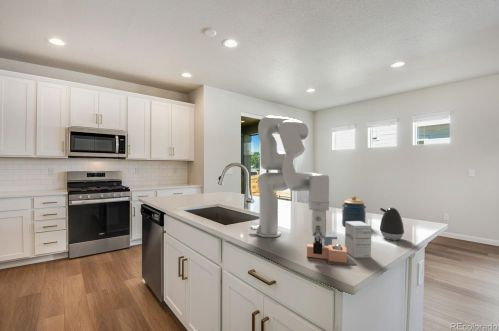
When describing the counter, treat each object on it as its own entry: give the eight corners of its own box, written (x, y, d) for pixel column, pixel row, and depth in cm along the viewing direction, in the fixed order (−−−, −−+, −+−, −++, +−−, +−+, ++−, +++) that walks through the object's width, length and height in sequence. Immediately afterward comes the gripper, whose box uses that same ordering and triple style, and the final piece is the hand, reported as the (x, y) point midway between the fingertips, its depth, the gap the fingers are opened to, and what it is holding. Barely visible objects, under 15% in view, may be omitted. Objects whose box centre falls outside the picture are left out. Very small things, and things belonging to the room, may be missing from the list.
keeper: (323, 250, 103) (323, 236, 102) (319, 246, 109) (320, 232, 109) (336, 251, 102) (337, 236, 102) (332, 246, 108) (332, 232, 108)
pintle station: (328, 264, 89) (328, 249, 89) (321, 254, 99) (321, 240, 99) (356, 265, 88) (356, 250, 88) (346, 254, 98) (346, 241, 98)
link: (345, 256, 96) (345, 246, 96) (347, 262, 90) (347, 251, 90) (307, 252, 100) (307, 242, 100) (306, 258, 94) (306, 247, 94)
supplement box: (344, 251, 103) (344, 221, 102) (361, 250, 103) (361, 220, 103) (353, 258, 95) (353, 225, 95) (371, 257, 96) (371, 225, 96)
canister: (369, 228, 138) (370, 197, 138) (346, 228, 138) (347, 197, 138) (359, 223, 151) (360, 194, 151) (338, 223, 151) (339, 194, 151)
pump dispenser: (383, 234, 128) (383, 205, 127) (406, 238, 120) (406, 207, 120) (376, 238, 120) (376, 207, 120) (400, 243, 113) (400, 210, 113)
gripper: (329, 210, 86) (328, 258, 86) (328, 202, 103) (327, 243, 103) (307, 209, 88) (306, 256, 88) (309, 201, 105) (309, 241, 105)
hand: (318, 249), depth 96 cm, fingers open, 9 cm apart
